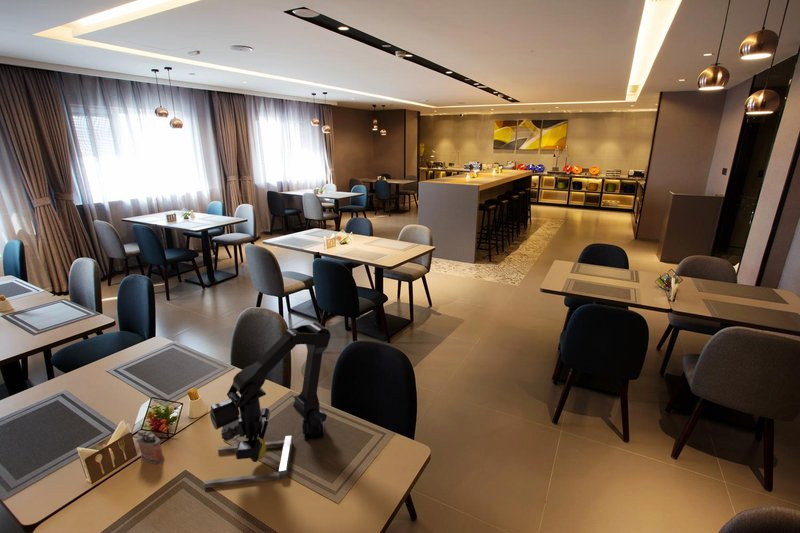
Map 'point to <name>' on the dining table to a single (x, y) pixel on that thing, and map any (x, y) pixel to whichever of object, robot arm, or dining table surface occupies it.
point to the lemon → (262, 449)
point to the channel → (259, 477)
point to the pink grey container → (150, 447)
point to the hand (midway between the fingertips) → (257, 454)
